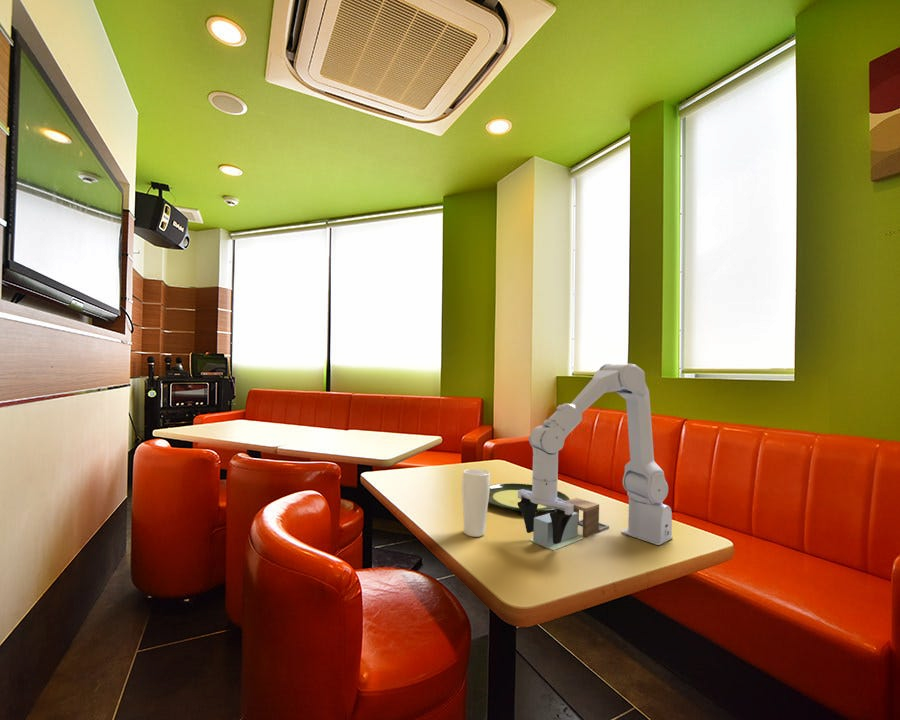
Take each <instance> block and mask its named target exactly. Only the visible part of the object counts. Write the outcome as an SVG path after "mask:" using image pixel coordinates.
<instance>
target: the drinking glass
mask: <svg viewBox="0 0 900 720" xmlns="http://www.w3.org/2000/svg"><path fill="white" fill-rule="evenodd" d="M461 484H462V485H461V486H462V487H461V491H462V510H463V511H462V512H463V513H462V515H463V533H464V534H465V535H466V536H468V537H472V538H478V537H479V538H480V537H483V536H484V535H485V534H486V529H487V528H486V526H487V525H486V524H487V515H488V507H489V503H488V500H489V491H490V485H491V472H490V471H488V470H486V469H482V468H467V469H464V470H462V482H461Z"/></svg>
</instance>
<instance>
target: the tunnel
mask: <svg viewBox="0 0 900 720" xmlns="http://www.w3.org/2000/svg"><path fill="white" fill-rule="evenodd" d="M566 502H568V503H570V504H573V505H574V512H576V513H578V526H580V525H579V521H580V520H579V519H580V511H582V520H583V526H582V534H581V535H582V536H581V537H583V538H588V537H590V536H593V535H595V534H598V533H600V532H599V523H600V504H599V503H596V502H593V501H589V500H585V499H582V498H578V497H575V498H572V499H571V498H570V500H567V501H566Z"/></svg>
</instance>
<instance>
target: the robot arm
mask: <svg viewBox="0 0 900 720" xmlns="http://www.w3.org/2000/svg"><path fill="white" fill-rule="evenodd" d="M613 392H615V393H617V394H618V395H619V396H621V397H622V398H623V399H624V400H625V404H626V416H627V417H626V418H627V430H628V445H629V459H630V460H629V461H628V462H627V463H626V464H625V465H624V474H623V477H622V487H623V488H624V490H625V491H626V492H627V493H626V494H627V495H626V496H627V497H628V521H627V522H628V525H627V526H628V527H627V528H625V529H623V530H621V531H620V532H621V534H624V535H627V536H629V537H633V538H635V539H638V540H642V541H645V542H648V543H651V544H653V545H657V546H661V545H662V544H665V543H666V542H668V541H669V540H672V539H673V536H672V530H673V529H672V528H673V527H672V525H673V523H672V522H673V521H672V520H673V513H672V507H671V506H669V505H667V504H664V503H663V502H664V501H665V499H666V498H667V496H668V494H669V485H668V482H667V481H666V477H665V472H664V470H663V469H662V468H661V467H660V466H659V465H658V464H657V462H656V461H655V455H654V441H653V440H654V439H653V427H652V425H653V424H652V411H651V401H650V400H651V396H650V389H649V388H648V385H647V383H646V375H645V371H644V370H643V369H642V368H641V367H640V366H638V365H637V364H634V363H627V364H626V363H625V364H613V363H612V364H610V363H606V364H603V365H601V366H600V368H599V369H597V371H595V372H594V374H593V376H592V379H591V380H590V381H588V383H587V384H586V385H585V387H584V388H583V389H582V390H581V391H580V392H579V393H578V394H577V396H576V397H575V398H574V399H573V400H572V401H571V403H566V402H565V403H563V404H559V405H557V407H556V408H555V409H556V410H555V412H554V413H553V414H552V415H550V416H549V417H548V419H545V420H543V424H542V425H537V426H536V427H534V428H533V429H532V431H531V432H530V433H531V434H530V436H528V441H529V444H530V446H531V448H532V482H531V483H532V484H531V485H532V491H528V490H524V489H522V490H518V498H519V499H521V501H520V502H518V507H519V508H520V510H521V511H520V513H521V514H522V517H523V518H522V519H523V520H524V526H525V530H526V533H527V534H531V533H534V518H535V517H537V516H536V515H537V512H536V511H537V507H538V504H540V505H543V506H546V507H549V508H552V509H555V511H556V512H555V511H550V512H549V513H550V517H551V521H552V528H553V543H554V544H558V543H560V542H561V540H562V536H563V532H564V530H565V527H566V525H567V523H568V521H569V519H570V518H571V516H572V514H573V513H574V505H573V504H570V503H568V502H566V501H564V500H562V499H560V498H558V497H557V491H558V477H559V476H558V474H559V473H558V472H559V451H561V450H563V448H564V446H565V440H566V439H567V436H569V434H570V433H571V432H572V431H574V429H576V427H577V426H578V425H579V424H580V423H581V422H582V421H583V413H584V412H585V411H586V410H587V409H588V408H589V407H592V405H593V404H594V403H595V402H596V401H597V400H598V399H600V398H601V397H602V396H603V395H604V394H606V393H613Z"/></svg>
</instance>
